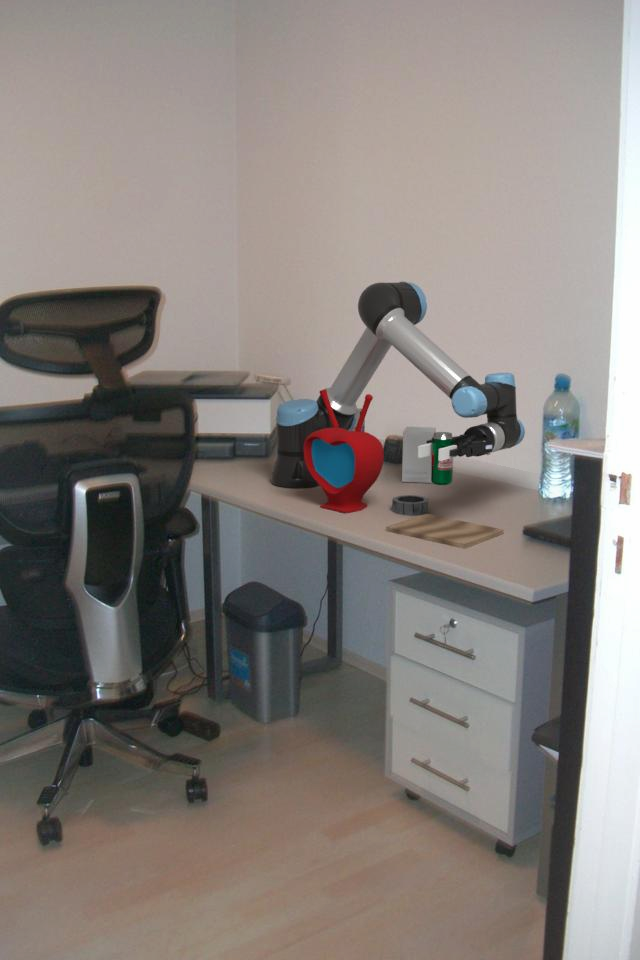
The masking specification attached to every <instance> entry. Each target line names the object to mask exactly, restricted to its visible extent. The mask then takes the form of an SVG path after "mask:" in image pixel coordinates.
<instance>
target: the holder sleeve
mask: <svg viewBox="0 0 640 960" xmlns="http://www.w3.org/2000/svg"><path fill="white" fill-rule="evenodd" d="M391 500H392V501H391V502H392V506H391V507H392V508H391V509H392V510H391V512H393V513H395V514H397V515H402V516H421V515H424V514H429V507H430V506H429V505H430V504H429V502H430V499H429V498H428V497H426V496H422V495H416V494H415V495H414V494H405V495H397V496H394V497H393V498H392V499H391Z"/></svg>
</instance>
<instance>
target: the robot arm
mask: <svg viewBox="0 0 640 960" xmlns="http://www.w3.org/2000/svg"><path fill="white" fill-rule="evenodd" d="M427 303H428V302H427V298H426V295H425V292H424V291H423V289H422V288H421V287H420V286H418V285H417V284H415V283H413V282H407V281H398V282H375V283H373V284H370V285H368V286H367V287H366V288H365V289H364V290H363V291H362V292H361V294H360V296H359V299H358V302H357V309H358V315H359V318H360V319H361V322H362V323H363V324H364V325H365V327H366V328H365V329H364V331H363V332H362V334H361V337H360V338H359V340H358V341H357V343H356V344H355V346H354V347H353V350H352V351H351V352H350V355H349V356H348V358H347V360H345V362H344V364H343V366H342V368H341V369H340V371H339V373H338V374H337V376H336V378H335V380H334V381H333V383H332V385H331V386H330V387H326V388H324V389H326V390H327V395H328V398H329V401H330V404H331V407H332V410H333V413H334V415H335V418H336V420H337V423H338V425H339V428H343V429H346V430H348V431H352V429H353V428H354V426H355V423H356V418H355V415H356V411H357V408H358V405H357V401H358V400H359V398H360V397H361V395H362V393H363V392H364V390H365V389H366V387H367V385H369V382H370V380H371V379H372V378H373V376H374V374H375V372H376V371H377V370H378V368H379V367H380V365H381V363H382V361H383V360H384V358H385V357H386V355H387V354H388V352H389V350H390V349H391V347H393V348H394V349H395V350H397V351H398V352H399V353H400V354H402V356H403V357H404V358H406V360H408V362H409V363H411V364H412V365H413V366H414V367H415V368H417V370H419V371H420V373H422V374H423V375H424V376H425V377H427V379H429V381H430V382H431V383H433V385H434V386H436V387H437V388H438V389H440V391H441V392H442V393H444V394H445V395H446V397H448V398H449V399H450V400H451V406H452V409H453V411H454V413H455V414H456V415H457V416H459V417H461V418H463V419H469V418H478V417H480V416H483V415H486V421H487V422H486V423H481V424H477V425H475V426H470V427H468V428H467V429H466V430H465V431H464V433H462V434H459V435H457V436H456V435H455V436H452V437H453V438H454V439H453V445H452V446H448V447H444V448H441V449H439V458H438V461H443V460H446V459H450V458H453V459H454V458H456V457H459V458H460V457H464V456H465V457H466V458H471V457H481V456H485V455H486V456H490V455H491V454H492V453H495V452H498V451H502V450H506V449H511V448H513V447H515V446H517V445H519V444H520V443H521V442H522V441H523V440H524V438H525V433H526V429H525V426H524V424H523V423H522V421H521V420H520V419H518V415H517V394H516V393H517V391H516V390H517V386H516V382H515V381H516V380H515V375H514V374H513V373H512V372H497V373H489V374H486V375H485V377H484V383H479V382H478V381H477V380H476V379H475V378H473V377H472V376H471V375H470V374H469V373H468V372H467V371H465V370H464V369H463V367H461V366H460V365H459V364H458V363H457V362H456V361H454V359H452V358H451V357H450V355H448V354H447V353H446V352H445V351H444V350H443V349H441V348H440V347H439V346H438V345H437V344H436V343H435V342H434V341H432V340H431V339H430V338H429V337H428V336H427V335H426V334H425V333H424V332H423V331H422V330H420V329H419V328H418V327H417V326H416V325H417V324H419V323H421V322H422V321H423V320H424V318H425V317H426V313H427V309H428V304H427ZM275 421H276V446H277V447H276V450H277V451H276V460H275V463H274V467H273V472H272V473H271V484H272V485H273V486H274V485H275V486H277V487H281V488H291V489H292V488H294V489H295V488H296V489H297V488H298V489H299V488H300V489H301V488H310V487H317V486H320V485H319V484H318V482H317V481H316V480H315V479H314V478H313V476H312V475H311V473H310V472H309V470H308V468H307V465H306V462H305V458H304V450H303V446H304V442H305V440H306V438H307V437H308V436H309V435H310V434H312V433H313V432H315V431H318V430H321V429H325V428H333V427H332V423H331V420H330V417H329V414H328V411H327V409H326V406H325V403H324V401H323V398H322V396H321V395H320V394H319V396H318V397H317V400H314V399H311V398H310V399H309V398H298V399H292V400H287V401H284V402H282V403H280V404H279V405H278V406H277V409H276V419H275ZM430 455H432V440H428V441H427V443H426V444H425V445H421V446H418V458H422V457H426V456H430Z"/></svg>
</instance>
